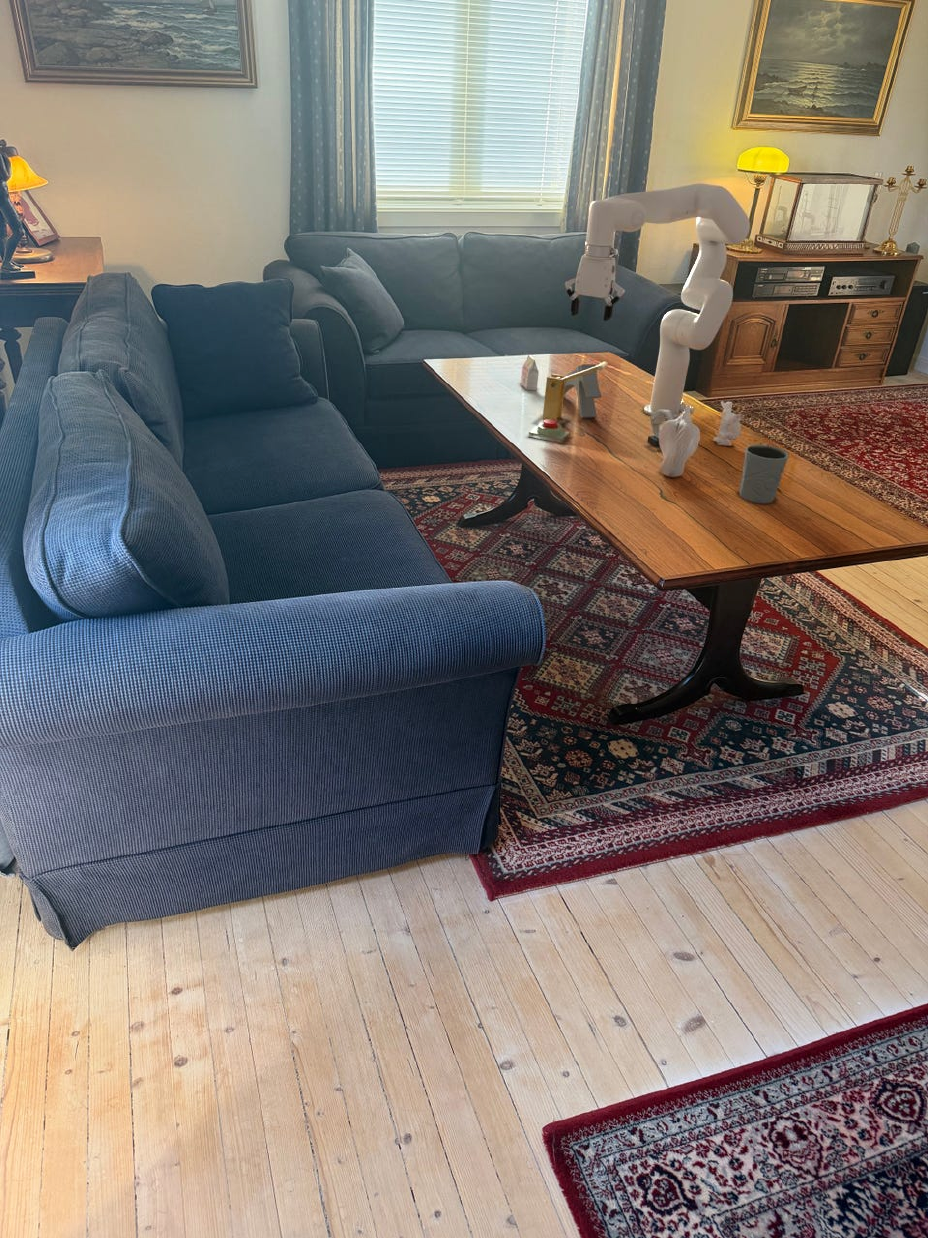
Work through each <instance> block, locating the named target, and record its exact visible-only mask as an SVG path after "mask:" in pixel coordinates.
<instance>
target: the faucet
mask: <svg viewBox="0 0 928 1238" xmlns="http://www.w3.org/2000/svg"><path fill="white" fill-rule="evenodd" d="M595 366H597V364H596V363H594V364H593V363H591V364H590V363H589V364H587V363H586V364H580V365H578V366H577V368H575V369H573V370H572V371H571V372H569V373H568V374H566V375H564V376H566V377H568V376H570V375H573V374H576V373H579V372H582V371H584V370H587V369H590V368H593V367H595ZM597 371H598V370H596V371H593V372H590V373H587V374H585V375H582V376H579V377H576V378H573V379H571V380H568V381H566V383H565V391H564V396H565V395H566V394H567V393H568V391H570V390H572V389H573V388H575V390H576V395H577V402H578V404H577V405H578V417H579V418H580V419H582V420H583V419H596V418H597V417H598V416H597V410H596V403H595V399H601V398H602V393H601V389H600V386H599V381H598V372H597Z"/></svg>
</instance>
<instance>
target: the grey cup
mask: <svg viewBox="0 0 928 1238" xmlns="http://www.w3.org/2000/svg"><path fill="white" fill-rule="evenodd" d="M744 453H745V454H744V461H743V470H742V475H741V482H740V485H739V497H740V498H742V499H743V500H745V501H747V502H750V503H755V504H762V505H763V504H764V505H765V504H766V505H767V504H770V503H773V502H774V501H775V498H776V495H777V492H778V488H779V485H780V484H781V480H782V474H783V473H784V469H785V467H786V464H787V461H788V458H789V453H788V452H787V451H785V450H783V449H782V448H779V447H776V446H771V445H767V444H766V445H765V444H753V445H749V446H747V447H746V448H745V452H744Z"/></svg>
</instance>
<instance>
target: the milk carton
mask: <svg viewBox="0 0 928 1238" xmlns="http://www.w3.org/2000/svg"><path fill="white" fill-rule="evenodd" d="M539 374H540V373H539V370H538V367H537V364H536V359H535V358H533V357H532V356H531V354H527V357H526V359H525V361H524V363H523V365H522V367H521V377H520V385H521V386H522V387H523V388H524V389H525V390H526V391H537V390H538V381H539Z"/></svg>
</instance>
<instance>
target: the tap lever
mask: <svg viewBox="0 0 928 1238" xmlns="http://www.w3.org/2000/svg"><path fill="white" fill-rule="evenodd" d="M608 365H609V363H608V361H603V362H602V363H600V364H598V365H596V366H595V367H593V368H590V369H587V370H584V371H582V372H579V373H576V374H573V375H570V376H568V377H565V378H562V382H565V381H568V380H571V379H573V378H576V377H579V376H582V375H585V374H587V373H590V372H593V371H596V370H597V371H602V370H604V369H605V368H606V367H608ZM557 378H559V379H561V378H560V377H557ZM561 385H562V384H561Z"/></svg>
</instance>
